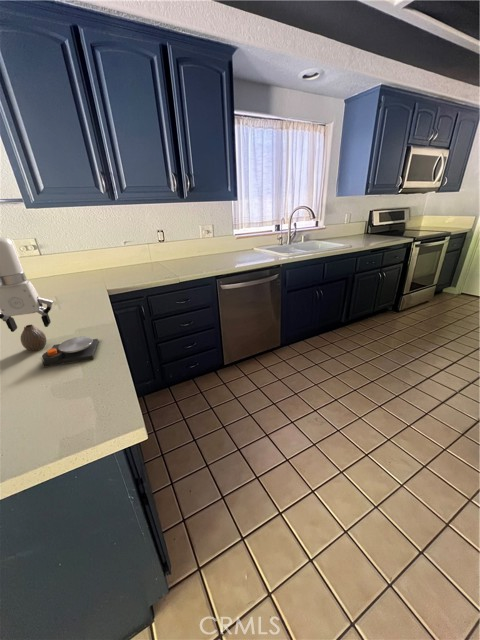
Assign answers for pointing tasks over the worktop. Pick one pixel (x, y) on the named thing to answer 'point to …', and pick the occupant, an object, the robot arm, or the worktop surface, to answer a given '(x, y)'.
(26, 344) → the vase
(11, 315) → the robot arm
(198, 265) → the worktop surface
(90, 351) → the scale
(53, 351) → the tare button
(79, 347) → the pan
